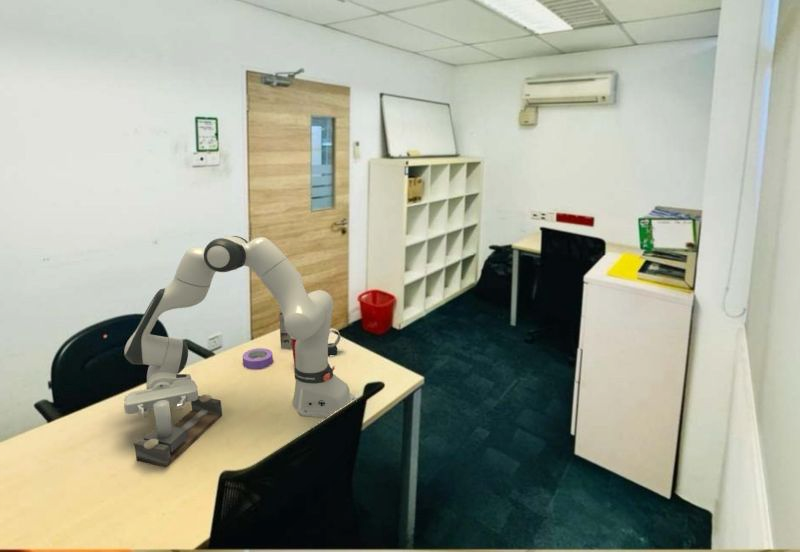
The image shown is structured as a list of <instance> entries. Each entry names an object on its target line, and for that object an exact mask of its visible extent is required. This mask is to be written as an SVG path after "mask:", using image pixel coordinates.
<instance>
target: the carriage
mask: <svg viewBox="0 0 800 552" xmlns="http://www.w3.org/2000/svg"><path fill="white" fill-rule="evenodd" d="M153 406H154V409H153V411H154V417H155V424H156V427H155V428H154V429H153V430H151V431H150V432H149V433H148V434H146V436H144V437H143V440H146V441H147V440H150V439H157V440H158V442H159V444H163V445H168V446H169V449H170V452H173V451H174V450H175V449H176V448H177V447H178V446H179V445H180V444H181V443H182V442H184V441H185V440H186V439H187V438H188V435H187V429H184V428H179V427H174V426H173V421H172V414H171V408H170V407H171V406H169V401H167V400H161V401H158V402H156V403H155V404H154V405H153Z"/></svg>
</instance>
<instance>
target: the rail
mask: <svg viewBox="0 0 800 552" xmlns="http://www.w3.org/2000/svg"><path fill="white" fill-rule="evenodd" d="M190 404H191V410H190V411H189V412H188V413H187V414H185V415H184V416H183V417H181V419H179V420H178V421H177V422H175V423H174V424H172V426H174V427H179V428H184V429H187V435H188V438H187V439H186V440H185V441H184V442H182V443H181V444H180V445H179V446H178V447H177V448H176V449H175V450H174V451H173V452H170V449H169V446H168V445H163V444H159V442H158V440H157V439H150V440H147V441H146V440H144V439H141V438H138V439H137V440H136V441H135V442H134V443H133V445H134V446H133V447H134V452H135V458H136V461H137V462H139V463H143V464H148V465H151V466H152V465H153V466H157V467H159V468H164V469H167V468H168V467H170V465H171V464H173V463H174V462H175V461H176V460H177V459H178V458H179V457H180V456H181V455H182V454H183V453H184V452H186V450H187V449H188V448H190V447H191V446H192V444H194V443H195V442H196V441H197V440H198V439H199V438H200V437H201V436H202V435H204V433H206V431H208V430H209V429H210V428H211V427H212V426H213V425H214V424H215V423H216V422H217V421H218V420H219V419H220V418H222V417H223V411H222V400H221V399H218V398H217V399H216V398H212V395H211V394H202V395H198V399H197V400H196V401H191V402H190Z"/></svg>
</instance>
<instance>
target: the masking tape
mask: <svg viewBox="0 0 800 552" xmlns="http://www.w3.org/2000/svg"><path fill="white" fill-rule="evenodd" d="M273 358H274V356H273V352H272V350H270V349H269V348H264V347H260V348H253V349H252V348H251V349H248V350H247V351H245V352H244V353H243V354H242V365H243V367H244V368H246V369H248V370H261V369H266V368H268V367H269V366H272V364H273V362H274V359H273Z"/></svg>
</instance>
